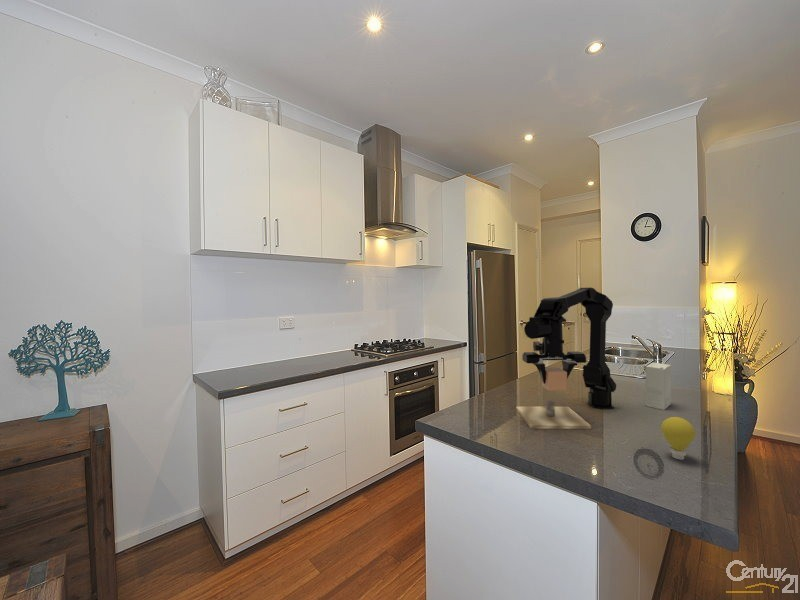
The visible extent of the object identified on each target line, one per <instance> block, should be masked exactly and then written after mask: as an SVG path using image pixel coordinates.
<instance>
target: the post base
mask: <svg viewBox="0 0 800 600" xmlns="http://www.w3.org/2000/svg"><path fill="white" fill-rule="evenodd" d="M515 409H516V412H518V414H520V416H521V417H522V419H523V420H524V422H525V424H527V426H528V427H529V428H530V429H531V430H532V429H533V430H535V429H537V430H538V429H541V430H542V429H549V430H551V429H555V430H567V429H568V430H591V429H592V424H590V423H589V422H587V421H586V420H585V419H584V418H583V417H581V416H580V415H579V414H577V413H576V412H575V411H574V410H573V409H571V408H570V407H569V406H555V401H553V400H546V401H545V406H516V408H515Z"/></svg>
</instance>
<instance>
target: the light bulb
mask: <svg viewBox="0 0 800 600" xmlns="http://www.w3.org/2000/svg"><path fill="white" fill-rule="evenodd" d="M660 430H661V433H662V434H663V436H664V438H665V440H666V441H667V443H669V445H670V448H669V453H671V457H672V458H673V459H676V460H685V457H686V456H687V450H686V448H688V446H690V444H691V443H692V442H693V441H694V439H695V438H696V432H695V431H696V430H695V428H694V427H693V425H692V423H690V422H689V421H688V420H686V419H684V418H682V417H680V416H679V417H678V416H671V417H668V418H665V419H664V420H663V422H662V423H661V427H660Z"/></svg>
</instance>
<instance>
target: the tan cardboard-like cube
mask: <svg viewBox="0 0 800 600" xmlns="http://www.w3.org/2000/svg"><path fill="white" fill-rule="evenodd" d="M545 374H546V382H545V384H544V383H543V381H542V380H541V387H543V388H544V389H545V390H546V391H550V392H551V391H553V392H555V391H568V379H567V372H566V371H564V370H563V368H561V367H545Z"/></svg>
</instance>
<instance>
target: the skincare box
mask: <svg viewBox="0 0 800 600" xmlns="http://www.w3.org/2000/svg"><path fill="white" fill-rule="evenodd" d="M671 404H672V365H671V364H668V363H667V364H666V363H659V362H651V363H649V364H648V365H646V366H645V406H646V407H648V408H654V409H658V410H662V411H663V410H666V409H667V408H668V407H670V406H671Z"/></svg>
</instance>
